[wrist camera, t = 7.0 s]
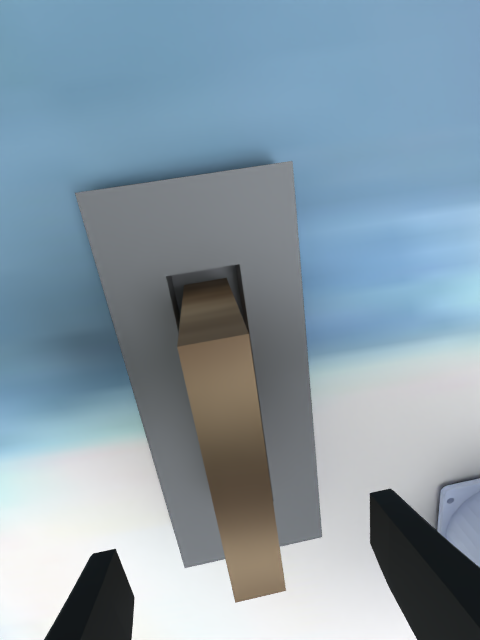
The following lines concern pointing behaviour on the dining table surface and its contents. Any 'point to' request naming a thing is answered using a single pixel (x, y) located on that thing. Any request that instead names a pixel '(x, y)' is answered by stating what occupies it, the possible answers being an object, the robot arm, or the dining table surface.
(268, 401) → the panel with rectangular hole
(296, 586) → the dining table surface
